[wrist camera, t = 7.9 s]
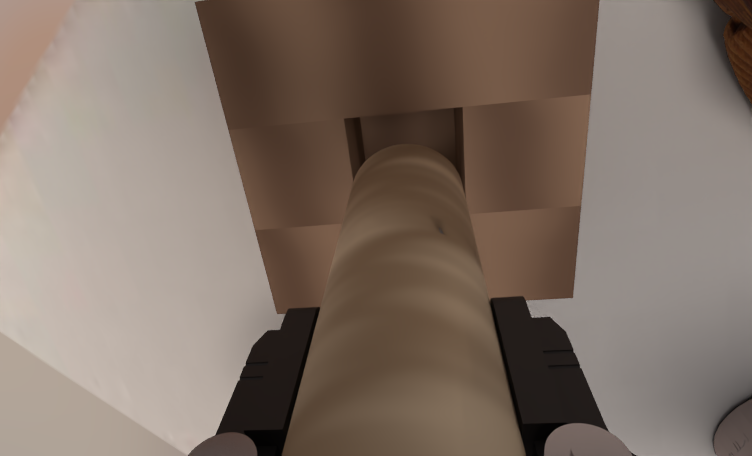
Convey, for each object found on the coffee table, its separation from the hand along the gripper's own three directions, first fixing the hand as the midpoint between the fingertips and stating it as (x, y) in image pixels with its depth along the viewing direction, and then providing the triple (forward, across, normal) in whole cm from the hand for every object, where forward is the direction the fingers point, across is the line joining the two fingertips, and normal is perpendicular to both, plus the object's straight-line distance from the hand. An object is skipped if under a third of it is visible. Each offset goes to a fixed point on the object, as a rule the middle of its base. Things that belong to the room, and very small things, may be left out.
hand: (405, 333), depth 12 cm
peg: (+7, 0, 0) cm, 7 cm away
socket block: (+16, 0, 0) cm, 16 cm away
